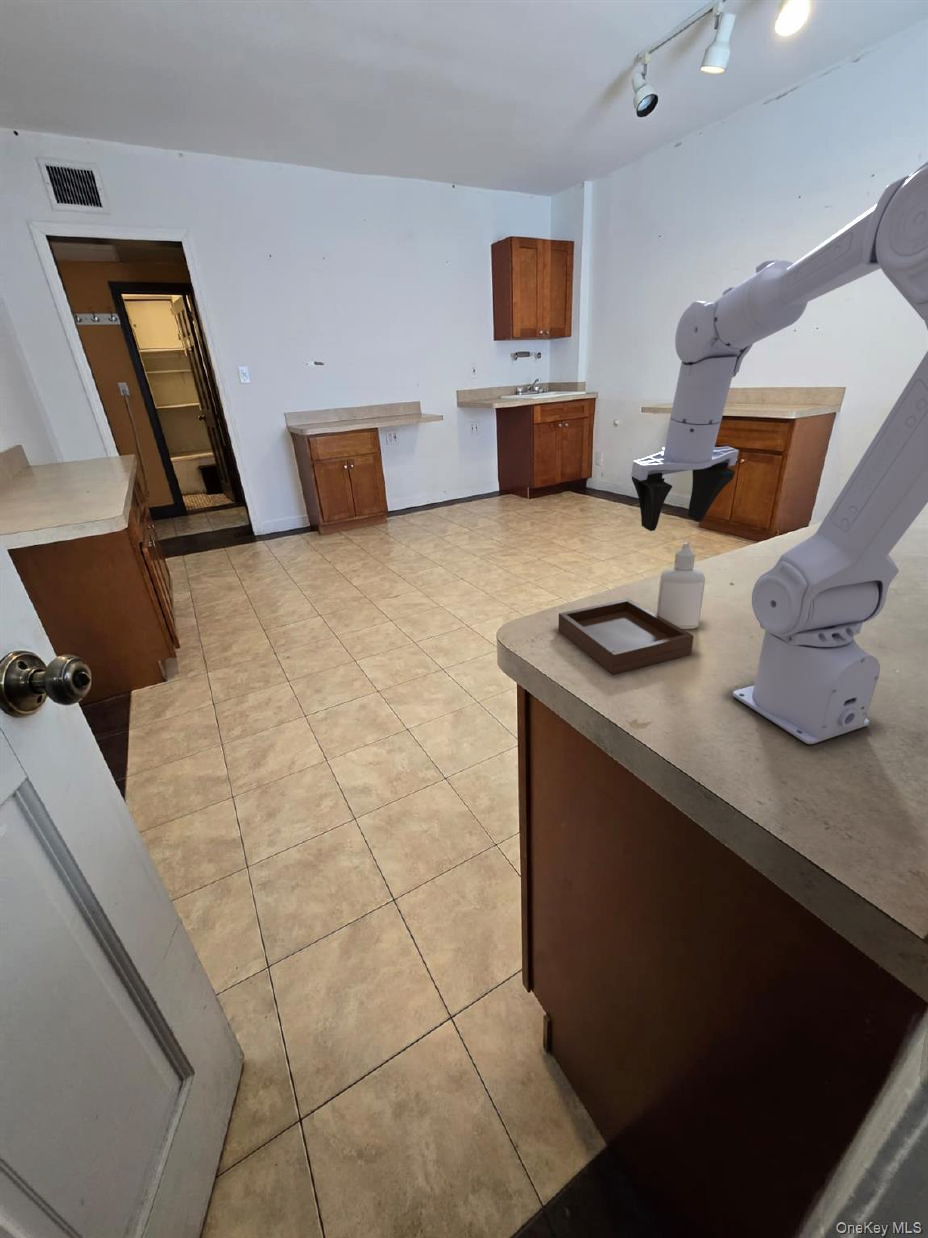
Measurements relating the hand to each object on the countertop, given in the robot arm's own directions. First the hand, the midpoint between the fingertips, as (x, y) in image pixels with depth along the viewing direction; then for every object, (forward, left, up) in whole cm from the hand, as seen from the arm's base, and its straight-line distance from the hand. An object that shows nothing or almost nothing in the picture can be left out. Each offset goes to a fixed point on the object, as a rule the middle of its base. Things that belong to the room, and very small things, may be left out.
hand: (671, 523), depth 69 cm
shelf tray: (-4, +10, -14) cm, 17 cm away
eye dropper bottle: (-3, 0, -14) cm, 15 cm away
